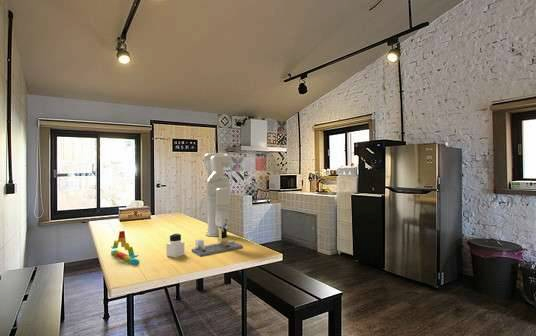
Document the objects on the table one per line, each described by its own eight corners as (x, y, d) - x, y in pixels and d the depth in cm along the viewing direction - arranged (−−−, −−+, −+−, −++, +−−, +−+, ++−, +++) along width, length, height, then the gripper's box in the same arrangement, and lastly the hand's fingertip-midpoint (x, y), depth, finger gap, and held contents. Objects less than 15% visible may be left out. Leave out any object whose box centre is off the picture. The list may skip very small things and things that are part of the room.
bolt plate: (191, 251, 178) (191, 240, 178) (232, 243, 195) (232, 233, 195) (200, 256, 169) (200, 244, 169) (242, 247, 186) (242, 237, 186)
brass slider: (217, 243, 188) (217, 227, 188) (224, 242, 191) (224, 226, 191) (224, 246, 181) (223, 229, 181) (231, 245, 184) (231, 228, 184)
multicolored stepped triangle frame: (139, 263, 158) (139, 235, 158) (133, 265, 156) (133, 236, 156) (116, 252, 179) (116, 227, 179) (111, 254, 176) (110, 228, 176)
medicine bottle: (184, 254, 173) (184, 233, 173) (175, 257, 167) (174, 236, 167) (176, 252, 177) (175, 232, 177) (166, 256, 170) (166, 234, 170)
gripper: (210, 207, 192) (211, 235, 192) (223, 209, 179) (223, 240, 179) (221, 206, 197) (221, 234, 197) (234, 208, 183) (234, 238, 184)
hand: (222, 236), depth 188 cm, fingers closed on brass slider, 3 cm apart
